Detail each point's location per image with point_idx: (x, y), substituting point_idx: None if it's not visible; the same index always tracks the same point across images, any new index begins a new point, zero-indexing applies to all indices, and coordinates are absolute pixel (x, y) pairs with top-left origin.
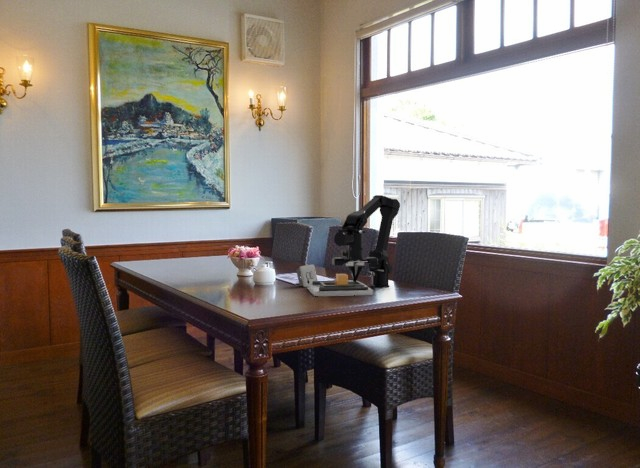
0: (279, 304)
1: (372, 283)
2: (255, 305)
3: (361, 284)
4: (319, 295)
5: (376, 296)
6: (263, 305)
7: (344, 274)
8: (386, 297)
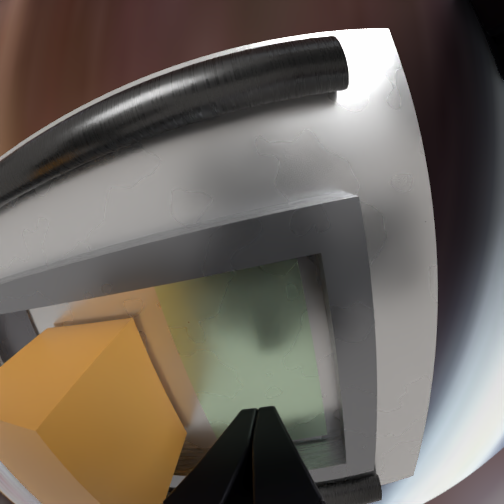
0: (35, 497)
1: (481, 3)
2: (4, 482)
3: (343, 465)
4: None
5: None
6: (15, 489)
7: (71, 493)
8: (445, 474)
